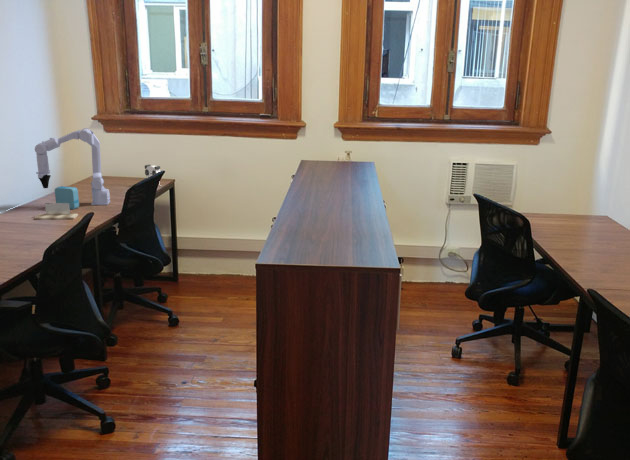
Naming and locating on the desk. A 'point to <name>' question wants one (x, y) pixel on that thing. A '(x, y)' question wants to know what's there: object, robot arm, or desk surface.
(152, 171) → the panda figurine
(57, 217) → the bookend
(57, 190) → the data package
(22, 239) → the desk surface
